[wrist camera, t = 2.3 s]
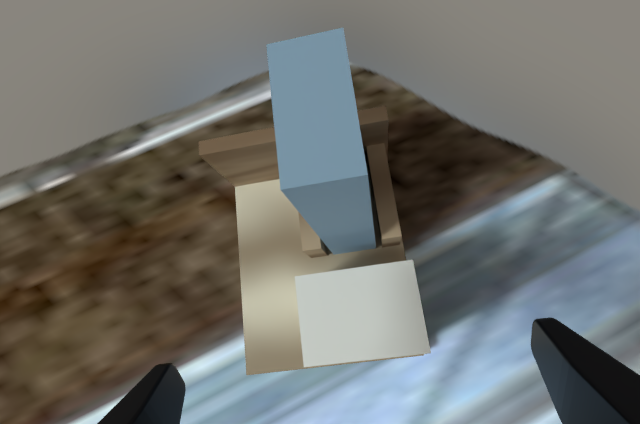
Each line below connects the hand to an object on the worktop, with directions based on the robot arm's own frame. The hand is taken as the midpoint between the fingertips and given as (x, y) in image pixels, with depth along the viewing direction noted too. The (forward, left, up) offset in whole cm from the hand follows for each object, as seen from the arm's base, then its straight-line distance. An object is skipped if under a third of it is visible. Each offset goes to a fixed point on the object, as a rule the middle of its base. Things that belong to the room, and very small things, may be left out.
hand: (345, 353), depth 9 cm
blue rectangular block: (+7, -2, -12) cm, 14 cm away
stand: (+5, +1, -13) cm, 14 cm away
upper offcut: (+1, 0, -10) cm, 10 cm away
